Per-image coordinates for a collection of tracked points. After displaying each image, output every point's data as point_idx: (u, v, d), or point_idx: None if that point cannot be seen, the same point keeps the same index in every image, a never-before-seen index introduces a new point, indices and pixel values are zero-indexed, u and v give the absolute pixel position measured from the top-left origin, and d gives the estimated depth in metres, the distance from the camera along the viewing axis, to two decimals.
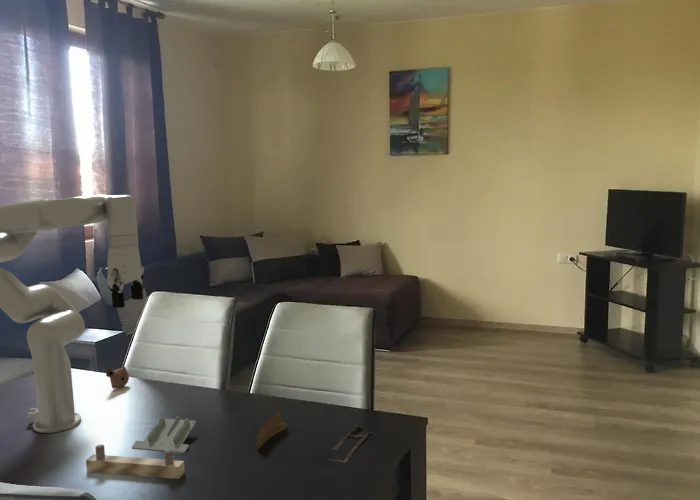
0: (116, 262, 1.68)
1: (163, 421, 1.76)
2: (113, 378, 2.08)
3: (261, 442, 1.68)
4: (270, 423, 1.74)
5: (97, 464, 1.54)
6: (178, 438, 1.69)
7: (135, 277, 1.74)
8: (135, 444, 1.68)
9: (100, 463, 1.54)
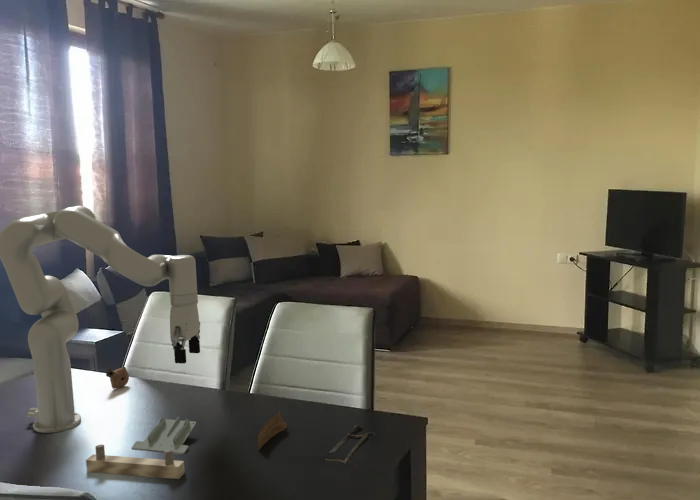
0: (178, 320, 1.76)
1: (163, 421, 1.75)
2: (113, 378, 2.08)
3: (262, 442, 1.68)
4: (271, 423, 1.74)
5: (97, 464, 1.54)
6: (178, 439, 1.68)
7: (194, 332, 1.82)
8: (135, 444, 1.68)
9: (100, 463, 1.54)
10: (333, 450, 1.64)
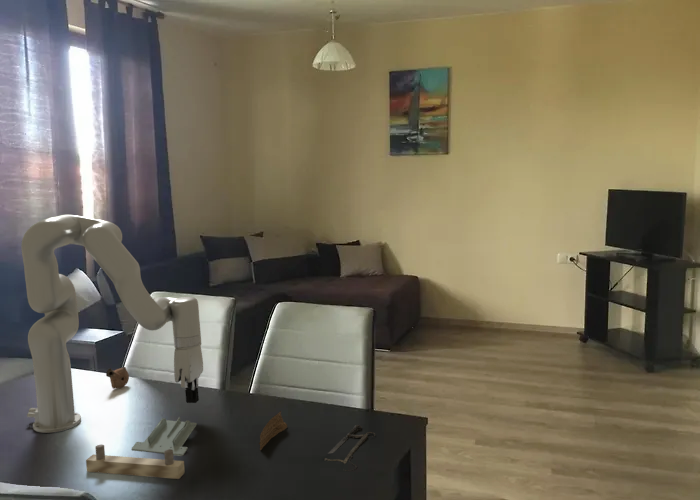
0: (182, 363, 1.78)
1: (164, 422, 1.75)
2: (113, 378, 2.08)
3: (264, 442, 1.68)
4: (272, 424, 1.74)
5: (97, 464, 1.54)
6: (177, 440, 1.67)
7: (198, 373, 1.84)
8: (135, 445, 1.68)
9: (100, 463, 1.54)
10: (333, 450, 1.64)
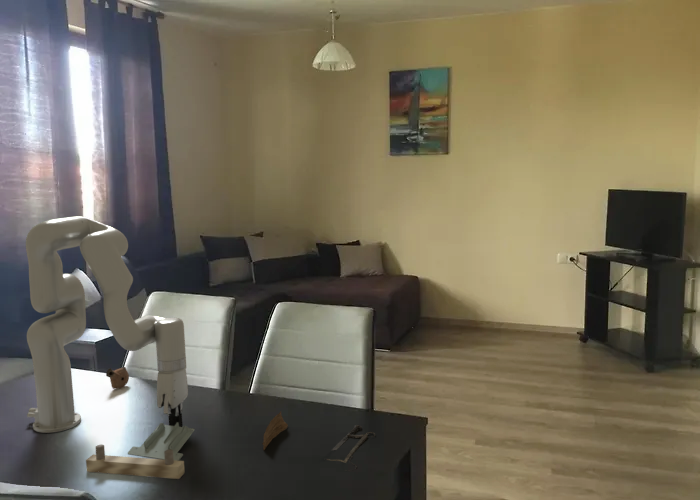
0: (166, 388, 1.69)
1: (162, 427, 1.72)
2: (113, 378, 2.08)
3: (266, 442, 1.68)
4: (273, 423, 1.73)
5: (97, 464, 1.54)
6: (173, 446, 1.64)
7: (183, 398, 1.75)
8: (131, 450, 1.65)
9: (100, 463, 1.54)
10: None
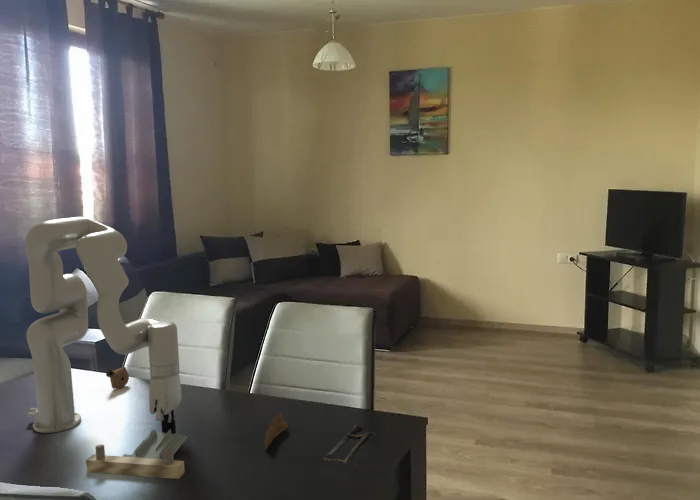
0: (158, 393, 1.65)
1: (154, 434, 1.68)
2: (113, 378, 2.08)
3: (268, 442, 1.67)
4: (274, 424, 1.73)
5: (97, 464, 1.54)
6: None
7: (176, 404, 1.71)
8: None
9: (100, 463, 1.54)
10: (333, 450, 1.64)
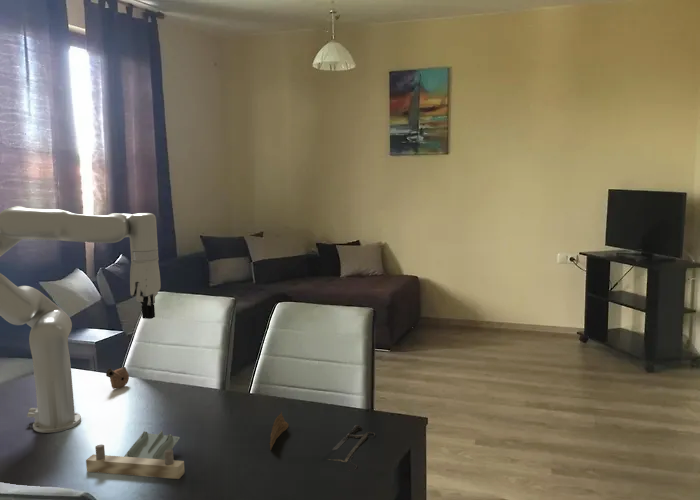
0: (138, 276, 1.80)
1: (146, 436, 1.66)
2: (113, 378, 2.08)
3: (272, 442, 1.67)
4: (276, 423, 1.73)
5: (97, 464, 1.54)
6: (158, 456, 1.59)
7: (155, 290, 1.86)
8: None
9: (100, 463, 1.54)
10: None
